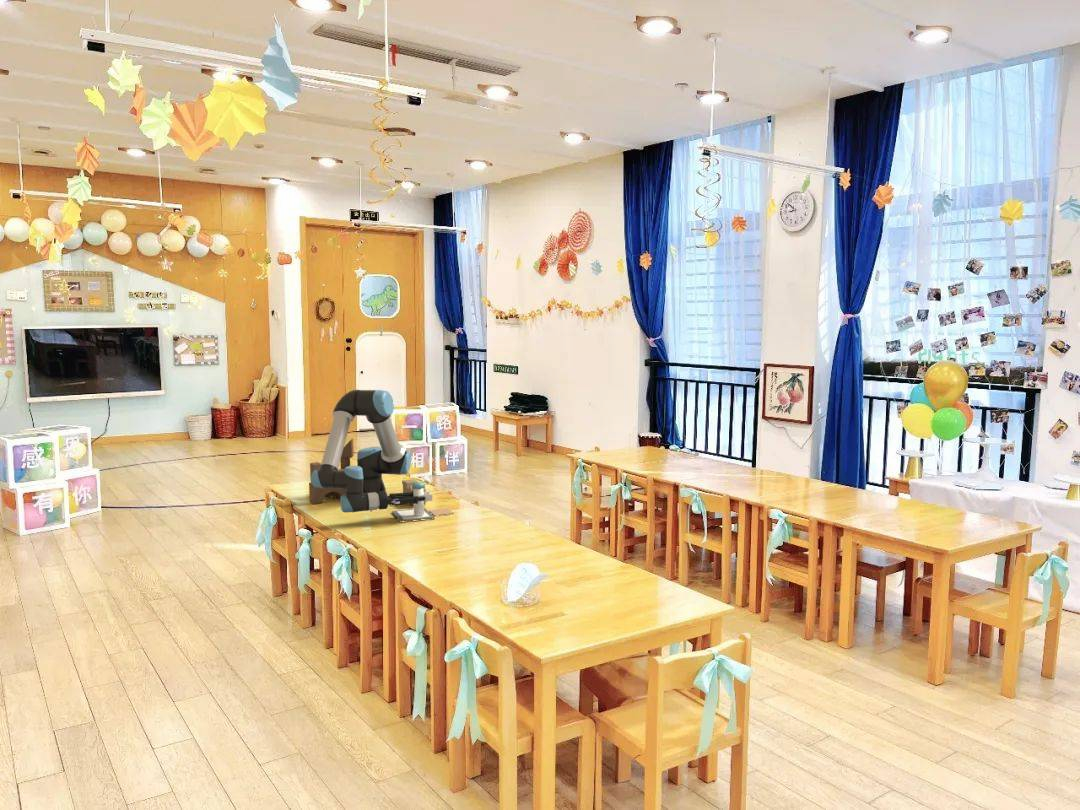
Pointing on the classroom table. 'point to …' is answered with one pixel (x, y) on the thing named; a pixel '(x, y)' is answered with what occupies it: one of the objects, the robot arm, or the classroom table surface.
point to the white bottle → (417, 491)
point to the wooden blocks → (320, 493)
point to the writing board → (411, 515)
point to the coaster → (441, 512)
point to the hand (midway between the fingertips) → (430, 496)
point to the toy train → (410, 486)
